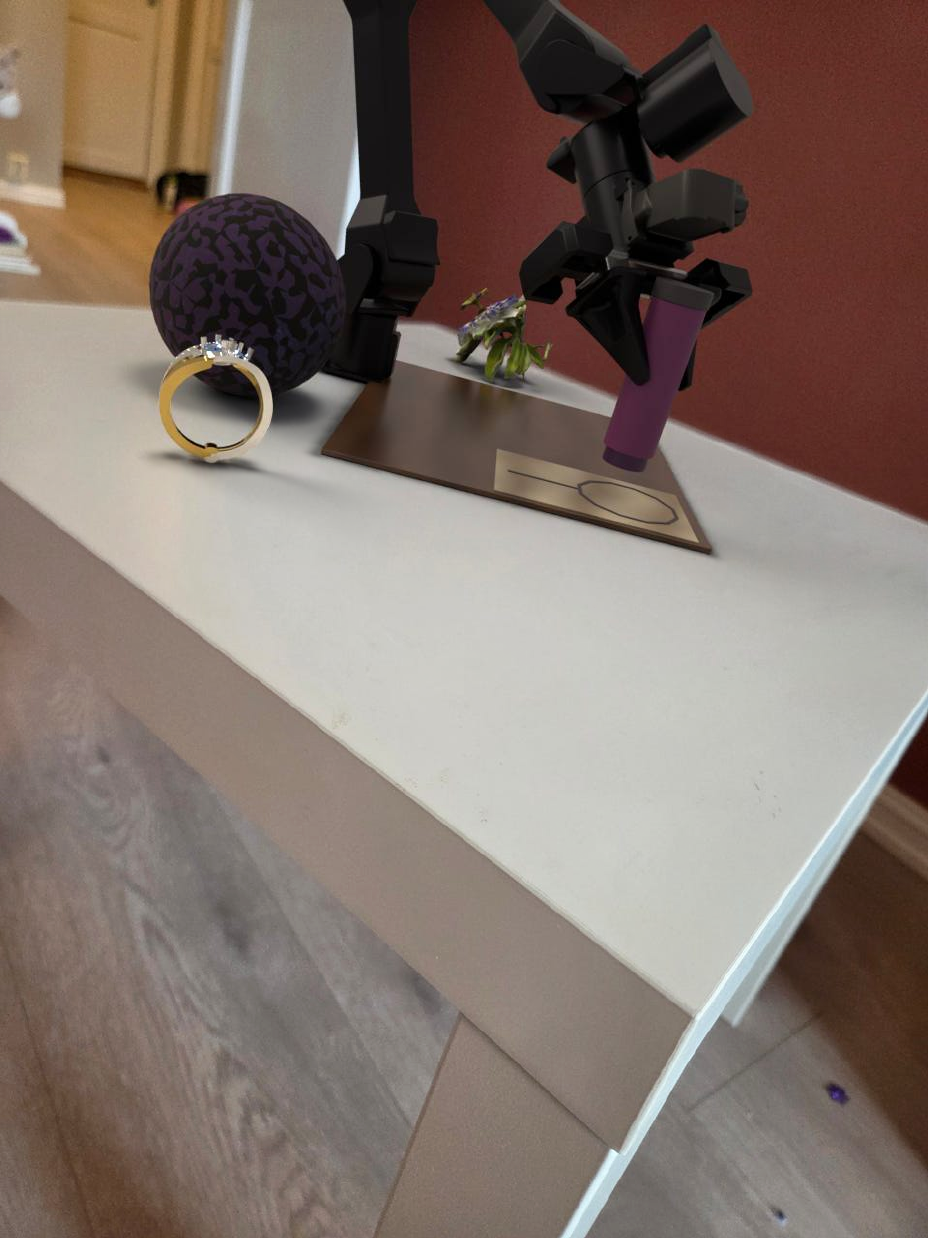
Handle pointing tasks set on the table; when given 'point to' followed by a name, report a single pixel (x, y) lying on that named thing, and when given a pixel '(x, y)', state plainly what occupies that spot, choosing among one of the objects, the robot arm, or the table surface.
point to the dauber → (656, 373)
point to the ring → (213, 354)
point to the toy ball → (249, 289)
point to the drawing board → (510, 452)
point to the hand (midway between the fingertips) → (664, 386)
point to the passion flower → (493, 323)
